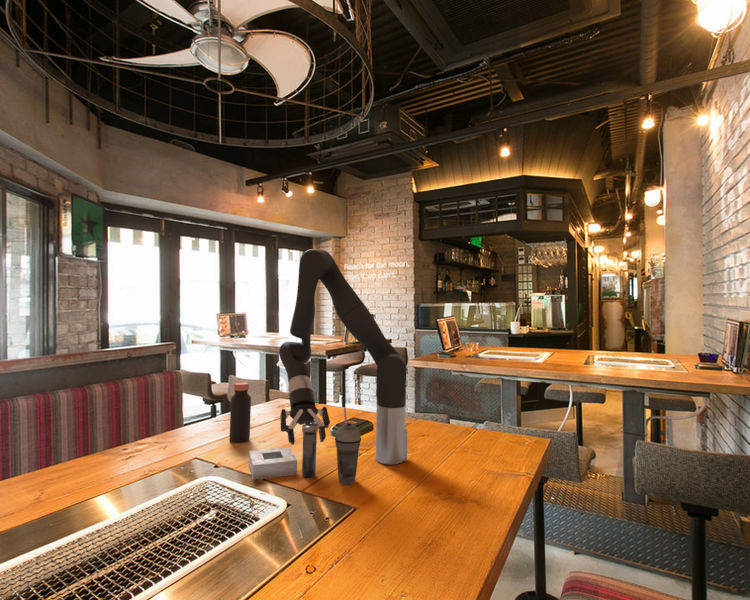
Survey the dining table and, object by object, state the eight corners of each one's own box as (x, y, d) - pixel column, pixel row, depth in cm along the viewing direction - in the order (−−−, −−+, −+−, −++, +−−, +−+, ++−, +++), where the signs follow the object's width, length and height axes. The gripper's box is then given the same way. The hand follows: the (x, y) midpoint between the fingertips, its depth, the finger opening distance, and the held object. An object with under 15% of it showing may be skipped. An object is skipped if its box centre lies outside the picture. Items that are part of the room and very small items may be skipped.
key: (314, 471, 117) (315, 423, 117) (318, 477, 113) (319, 427, 113) (299, 473, 115) (300, 424, 115) (302, 480, 111) (304, 428, 111)
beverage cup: (356, 488, 106) (358, 412, 107) (330, 485, 108) (332, 410, 108) (362, 477, 114) (364, 406, 114) (338, 474, 115) (339, 404, 116)
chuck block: (288, 459, 126) (289, 446, 126) (296, 474, 114) (297, 460, 115) (248, 464, 121) (249, 450, 121) (252, 480, 110) (253, 465, 110)
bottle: (253, 439, 144) (255, 383, 144) (238, 444, 138) (240, 386, 139) (241, 435, 147) (242, 381, 148) (225, 440, 142) (227, 383, 142)
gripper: (279, 387, 121) (284, 437, 110) (325, 385, 127) (334, 433, 116) (276, 401, 126) (281, 450, 115) (320, 399, 131) (329, 446, 120)
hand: (308, 442), depth 115 cm, fingers open, 8 cm apart
